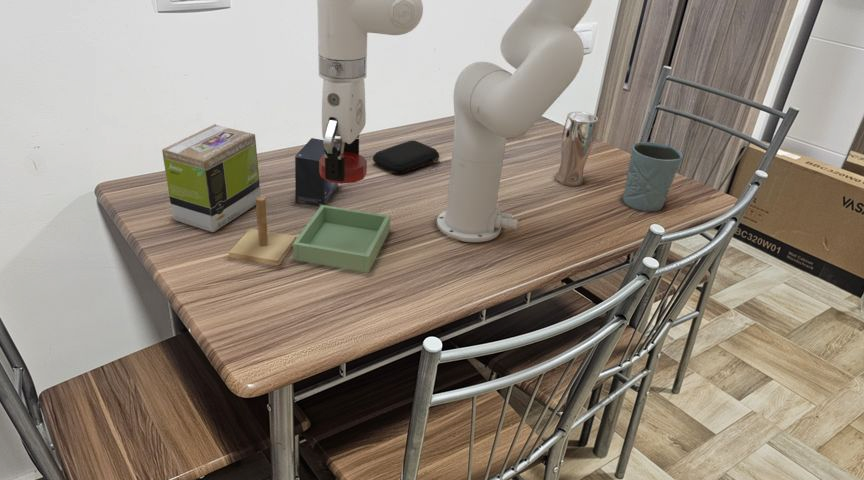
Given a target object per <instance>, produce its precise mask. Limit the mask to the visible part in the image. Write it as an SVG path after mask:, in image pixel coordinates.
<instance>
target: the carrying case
mask: <svg viewBox="0 0 864 480" xmlns="http://www.w3.org/2000/svg"><path fill="white" fill-rule="evenodd" d="M439 159H440V154H439V151H438V150H437V149H436V148H435V147H433V146H430V145H427V144H425V143H422V142H419V141H417V140H408V141H405V142H402V143H399V144H396V145H393V146H389V147H387V148H385V149H381V150H379V151H377V152H376V153H375V154H373V156H372V161H373V162H374V163H375V164H376V165H377V166H379V167H381V168H382V169H383V168H384V169H385V170H387V171H390V172H392V173H394V174H397V175H400V174H401V175H402V174H405V173H407V172H410V171H412V170H413V171H414V170H415V169H418V168H421V167H423V166H426V165H428V164H435V163H436V162H437V161H439Z"/></svg>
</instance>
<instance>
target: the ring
mask: <svg viewBox="0 0 864 480" xmlns="http://www.w3.org/2000/svg"><path fill="white" fill-rule="evenodd" d="M343 158H345V179H344V181H342V182H341V181H334V180H328V179H326V178H325V156H324V155H323V156H322V157H321V159H320V160H319V173H320V175H321V177H322V178H323V179H325V180H327V181H329V182H333V183H338V184H340V185H341V184H342V185H344V184H354V183H358V182H361V181H362V180H364V179H365V177H366V176H367V172H368V161H367V160H366V158H365V157H364V156H363V155H361V154H359V155H358V154H356V153H351V152H343Z"/></svg>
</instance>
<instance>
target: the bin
mask: <svg viewBox="0 0 864 480" xmlns="http://www.w3.org/2000/svg"><path fill="white" fill-rule="evenodd" d="M390 231H391V215H387V214H381V213H376V212H368V211H363V210H356V209H351V208H344V207H338V206H332V205H321V206H320V207H319V208H318V209H317V210H316V212H314V214H313V215H312V217H311V218H310V220H309V221H308V222H307V224H305V227H304V228H303V229H302V230H301V232H300V233H299V234H298V235H297V236H296V240H295V241H294V243H293V246H292V260H293V261H299V262H304V263H309V264H315V265H321V266H327V267H331V268H337V269H338V268H339V269H344V270H350V271H354V272H361V273H367V274H368V273H369V272H370V271H371V268H372V267H373V265H374V263H375V260H376V259H377V257H378V255H379V254H380V251H381V249H382V247H383V245H384V243H385V241H386V239H387V237H388V235H389V233H390Z"/></svg>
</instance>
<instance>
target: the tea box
mask: <svg viewBox="0 0 864 480" xmlns="http://www.w3.org/2000/svg"><path fill="white" fill-rule="evenodd" d="M161 152H162V159H163V165H164V172H165V178H166V183H167V190H168V197H169V202H170V209H171V213H172V214H171V215H172V219H173V220H174V221H175V222H179V223H182V224H185V225H188V226H191V227H194V228H198V229H200V230H204V231H207V232H210V233H215V232H217V231H218V230H220V229H222V228H223V227H224V226H226V225H227V224H229V223H231V222H232V221H234V220H235V219H237V218H238V217H240V216H241V215H243V214H244V213H246V212H247V211H249V210H251V209H252V208H254V207H255V206H256V197H259V196H262V195H261V186H260V175H259V173H260V172H259V161H258V151H257V140H256V134H255V133H251V132H247V131H242V130H238V129H234V128H230V127H226V126H221V125H219V124H216V123H215V124H212V125H210V126H208V127H206V128H204V129H202V130H200V131H198V132H196V133H194V134H191V135H189V136H188V137H185V138H182V139H180V140H178V141H177V142H175V143H172V144H171V145H169V146H167V147H164V148H162V149H161Z"/></svg>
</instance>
